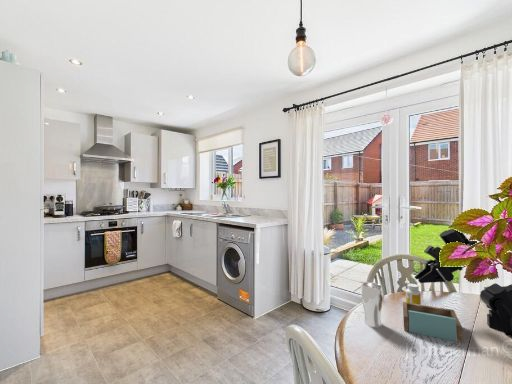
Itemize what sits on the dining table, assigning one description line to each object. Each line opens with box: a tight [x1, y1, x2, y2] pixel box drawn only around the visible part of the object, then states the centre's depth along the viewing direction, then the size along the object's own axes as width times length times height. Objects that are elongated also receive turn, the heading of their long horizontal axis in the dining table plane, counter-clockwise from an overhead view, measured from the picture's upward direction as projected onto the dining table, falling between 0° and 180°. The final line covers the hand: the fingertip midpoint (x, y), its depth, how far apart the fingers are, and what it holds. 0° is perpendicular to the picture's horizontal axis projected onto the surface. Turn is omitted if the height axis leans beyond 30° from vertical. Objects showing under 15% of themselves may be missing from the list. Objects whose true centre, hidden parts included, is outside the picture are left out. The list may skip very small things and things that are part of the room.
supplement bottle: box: [405, 283, 422, 305], centre depth 108 cm, size 5×5×10 cm
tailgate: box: [408, 310, 458, 342], centre depth 85 cm, size 13×1×7 cm, turn 61°
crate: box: [402, 301, 464, 343], centre depth 90 cm, size 16×13×6 cm
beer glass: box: [361, 281, 384, 329], centre depth 94 cm, size 7×7×15 cm
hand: (417, 279), depth 97 cm, fingers open, 9 cm apart
